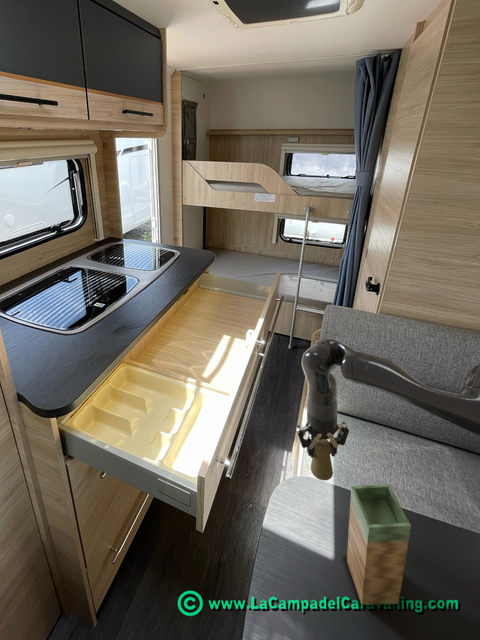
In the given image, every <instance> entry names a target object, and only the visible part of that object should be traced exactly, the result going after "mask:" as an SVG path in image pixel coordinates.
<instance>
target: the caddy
mask: <svg viewBox="0 0 480 640" xmlns="http://www.w3.org/2000/svg"><path fill="white" fill-rule="evenodd" d="M349 501H350V502H349V503H350V505H349V518H348V519H349V520H348V536H347V537H348V538H347V553H346V563H347V565H348V569H349V572H350V574H351V578H352V580H353V584H354V586H355V589H356V593H357V596H358V598H359V601H360V604H361V605H362V606H365V605H398V604H399V603H400V596H401V590H402V584H403V577H404V572H405V568H406V567H405V566H406V561H407V560H406V559H407V554H408V548H409V542H410V536H411V530H412V524H411V523H410V521H409V519H408V517H407V515H406V514H405V512H404V509H403V508H402V506H401V504H400V501H399V500H398V499H397V496H396V495H395V493H394V491H393V488H392V487H391V485H390V484H389V483H387V484H386V483H385V484H369V485H354V486H353V485H352V486H351V487H350V500H349Z"/></svg>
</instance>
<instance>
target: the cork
mask: <svg viewBox="0 0 480 640" xmlns="http://www.w3.org/2000/svg"><path fill="white" fill-rule="evenodd" d="M313 448H314V458H311V463H310V471H311V474H312V475H313V476H314V478H316V479H318V480H320V481H329V480H331V479H332V477H333V475H334V470H333V464H332V457H331V451H332V446H331V444H330V440H329V439H321V440H318V442H317V444H315V445H314V447H313Z"/></svg>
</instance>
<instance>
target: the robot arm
mask: <svg viewBox="0 0 480 640" xmlns="http://www.w3.org/2000/svg"><path fill="white" fill-rule="evenodd" d="M337 367H340V372H341V375H342V376H343V378H344V379H345V380H347V381H349V382H351V383H354V384H355V385H356V384H357V385H359V386H362V387H366V388H368V389H369V388H370V389H373V390H375V391H379V392H380V393H381V392H382V393H384V394H387V395H389V396H392V397H395V398H397V399H399V400H401V401H403V402H406V403H408V404H410V405H412V406H413V407H416V408H418V409H420V410H422V411H424V412H426V413H428V414H431V415H432V416H434V417H436V418H439V419H441V420H443V421H446V422H447V423H450V424H451V425H454V426H456V427H458V428H461V429H463V430H465V431H467V432H470V433H471V434H474V435H477V436H478V437H480V363H479V364H475V365H473V366H471V367H470V368H469V369H468V370H467V371H466V373H465V374H464V375H463V378H462V381H461V384H460V386H459V389H458V392H457V394H454V393H450V392H449V393H448V392H444V391H442V390H438V389H435V388H433V387H430V386H428V385H427V384H424V383H423V382H421V381H420V380H419V379H417V378H416V377H414V376H413V375H412V374H411V373H409V372H408V371H407V370H405V368H403V367H401V366H400V365H399V364H397V363H396V362H394V361H392V360H391V359H388V358H386V357H383V356H379V355H375V354H370V353H366V352H362V351H358V350H355V349H354V348H352V347H351V346H348V345H346V344H344V343H342V342H340V341H338V340H336V339H333V338H320V339H318V340H317V341H316V342H315V343H313V344H312V345H311V346H309V348H307V349H306V350H305V351H304V352H303V354H302V358H301V368H302V370H303V374H304V377H305V378H306V381H307V395H306V421H307V422H306V423H305V426H301V425H299V424H297V425H295V429H296V433H297V436H298V438H299V439H298V440H299V441H300V445H301V448H302V449H306V452H307V455H308V456H309V457H310V458H311V459H312V458H314V448H313V447H314V445H315V444H317V442H318V440H321V439H327V440H329V442H330V444H331V446H332V451H331V454H330V456H331V458H332V457H336V455H337V454H338V447H339V445H340V446H344V445H345V444H346V441H347V438H348V436H349V433H350V429H349V427H348V426H347V423H346V421H342V422H341V423H338V409H339V408H338V383H337V380H336V378H335V376H334V375H333V374H332V373H331V372H332V371H333V370H334V369H335V368H337ZM306 433H307V437H306V438H305V436H306ZM336 433H337V435H336V437H335V434H336Z"/></svg>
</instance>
